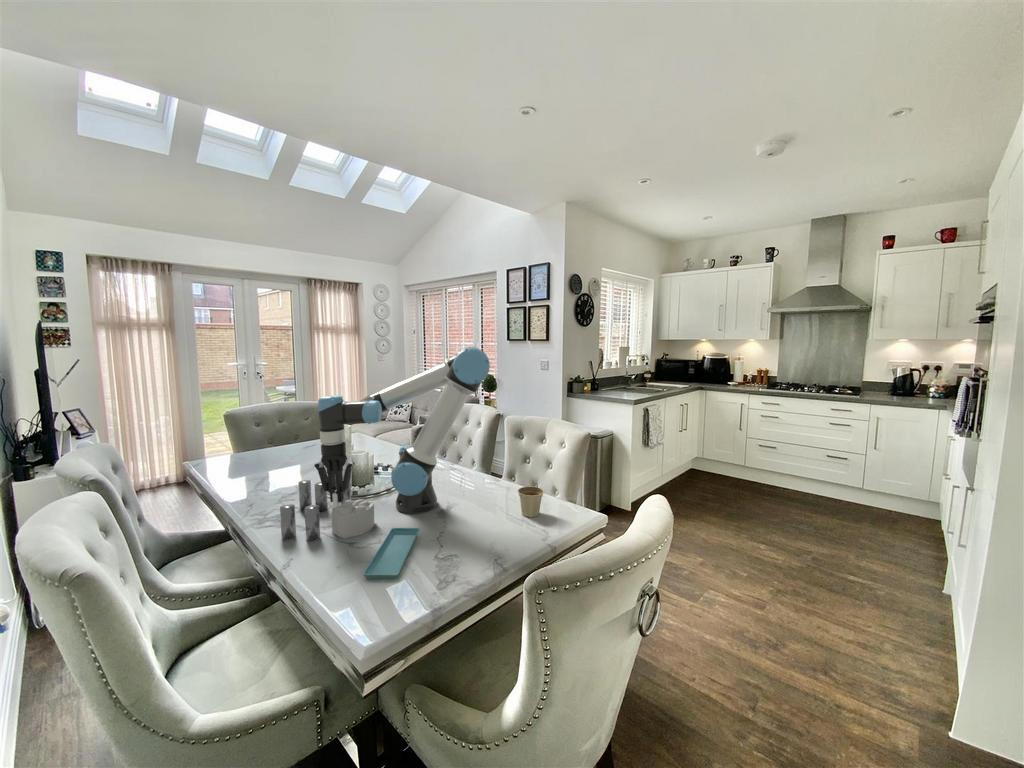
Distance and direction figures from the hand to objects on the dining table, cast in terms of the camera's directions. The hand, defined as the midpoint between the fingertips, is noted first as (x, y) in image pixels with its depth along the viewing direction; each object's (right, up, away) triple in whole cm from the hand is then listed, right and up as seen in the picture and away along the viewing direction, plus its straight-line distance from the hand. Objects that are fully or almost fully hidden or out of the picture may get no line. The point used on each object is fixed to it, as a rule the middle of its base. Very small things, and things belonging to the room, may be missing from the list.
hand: (337, 511), depth 139 cm
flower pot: (+65, -4, +9) cm, 66 cm away
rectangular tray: (+25, -7, -20) cm, 32 cm away
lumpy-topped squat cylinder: (+7, -5, -2) cm, 9 cm away
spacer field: (-11, -4, +2) cm, 12 cm away
